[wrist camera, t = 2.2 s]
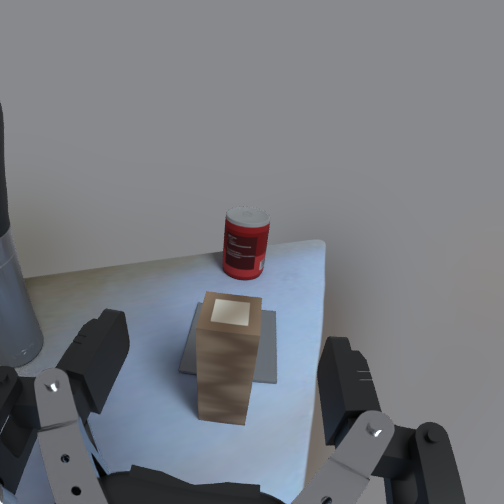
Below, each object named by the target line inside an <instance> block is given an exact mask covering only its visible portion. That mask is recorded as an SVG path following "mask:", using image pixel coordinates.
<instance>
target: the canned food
mask: <svg viewBox="0 0 504 504" xmlns="http://www.w3.org/2000/svg"><path fill="white" fill-rule="evenodd" d="M269 225H270V216H269V214H267V213H266V212H265V211H262V210H260V209H257V208H252V207H235V208H232V209H229V210H228V211H227V213H226V220H225V233H224V248H223V269H224V271H225V273H226V274H227V275H229V276H230V277H232V278H235V279H239V280H251V279H255V278H257V277H258V276H260V274H261V273H262V271H263V268H264V261H265V254H266V247H267V240H268V233H269Z"/></svg>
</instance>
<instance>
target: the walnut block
mask: <svg viewBox="0 0 504 504" xmlns="http://www.w3.org/2000/svg"><path fill="white" fill-rule="evenodd" d="M261 304H262V298H258V297H249V296H240V295H232V294H223V293H215V292H207V291H206V294H205V298H204V301H203V305H202V308H201V312H200V315H199V319H198V323H197V326H196V359H197V391H198V414H199V420H204V421H211V422H219V423H227V424H236V425H245V421H246V415H247V410H248V404H249V398H250V393H251V387H252V381H253V376H254V370H255V364H256V358H257V352H258V346H259V341H260V331H261Z"/></svg>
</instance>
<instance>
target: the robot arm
mask: <svg viewBox="0 0 504 504" xmlns="http://www.w3.org/2000/svg"><path fill="white" fill-rule="evenodd" d="M42 345H43V335H42V332H41V329H40V327H39V324H38V321H37V318H36V316H35V312H34V310H33V307H32V304H31V301H30V298H29V295H28V291H27V288H26V285H25V282H24V278H23V275H22V271H21V268H20V264H19V260H18V256H17V252H16V248H15V245H14V240H13V235H12V231H11V226H10V221H9V215H8V201H7V188H6V178H5V166H4V122H3V112H2V106H1V103H0V365H1V366H0V432H1V429H2V427H3V425H4V423H5V421H6V419H7V417H8V415H9V418H8V420H7V422H6V424H5V426H4V428H3V430H2V432H1V434H0V504H18V501H17V499H16V497H15V493H16V490H17V487H18V485H19V482H20V479H21V476H22V474H23V471H24V468H25V466H26V463H27V461H28V458H29V456H30V453H31V451H32V448H33V446H34V443H35V441H36V439H37V436H38V440H39V445H40V449H41V453H42V457H43V461H44V465H45V469H46V473H47V476H48V480H49V483H50V486H51V490H52V493H53V496H54V499H55V502H56V503H55V504H285V503H284V502H282V501H281V500H279V499H277V498H275V497H273V496H271V495H269V494H266V493H263V492H260V485H255V484H241V483H231V482H225V483H214V484H201V485H193V484H189V483H187V482H184V481H182V480H180V479H177V478H175V477H173V476H170V475H168V474H166V473H164V472H161V471H156V470H152V469H148V468H144V467H140V466H136V465H132V466H131V470H130V471H124V472H116V473H111V474H110V472H109V470H108V468H107V466H106V464H105V462H104V460H103V458H102V456H101V453H100V451H99V448H98V446H97V443H96V440H95V437H94V435H93V432H92V429H91V426H90V423H89V420H88V416H89V414H90V412H94V413H97V414H100V413H101V411H102V409H103V406H104V404H105V402H106V400H107V397H108V395H109V393H110V391H111V389H112V386H113V384H114V382H115V380H116V378H117V376H118V373H119V371H120V369H121V367H122V365H123V363H124V361H125V359H126V357H127V354H128V351H129V346H130V340H129V335H128V329H127V324H126V318H125V314H124V312H122V311H117V310H112V309H105V310H104V311H103V312H102V314H101V315H100V317H99V318H98V319H92V320H90V321H89V322H87V323H86V324H85V325H83V327H82V328H81V330H80V331H79V333H78V335H77V336H76V337H75V338H74V340H73V343H71V344H70V346H69V347H68V349H67V350H66V352H65V354H64V355H63V357H62V358H61V360H60V361H59V363H58V364H57V366H56V367H55V368H50V369H46V370H44V371H42V372H41V373H40V374H39V375H38V376H37V377H19V376H18V374H17V373H16V371H15V369H14V368H12V367H19V366H22V365H24V364H26V363H28V362H30V361H31V360H32V359H34V358H35V357H36V356H37V355H38V353H39V352H40V350H41V348H42ZM317 378H318V386H319V393H320V401H321V409H322V417H323V425H324V433H325V442H326V445H335V451H334V453H333V454H332V456H331V457H330V458H329V459H328V460H327V461H326V462H325V463H324V465H323V466H322V467H321V469H320V470H319V471H318V472H317V474H316V475H315V476H314V477H313V478H312V480H311V481H310V482H309V483H308V485H307V486H306V487H305V488H304V489H303V490H302V491H301V493H300V494H299V495H298V496H297V497H296V498H295V499H294V500H293V502H292V503H291V504H355V503H356V502H357V500H358V499H359V497H360V496H361V494H362V493H363V491H364V490H365V488H366V486H367V485H368V483H369V481H370V479H369V477H370V475H372V476H378V477H383V478H384V485H385V493H386V502H387V504H466V503H465V498H464V493H463V489H462V485H461V481H460V477H459V473H458V469H457V465H456V462H455V458H454V454H453V451H452V447H451V444H450V440H449V438H448V434H447V432H446V431H445V429H444V428H443V427H442V426H440V425H438V424H437V423H433V422H426V423H424V424H422V425H420V426H419V427H418V428H417V430H416V429H411V428H405V427H400V426H397V425H394V424H393V422H392V420H391V419H390V417H389V416H387V415H386V414H384V413H382V411H381V409H380V405H379V401H378V398H377V394H376V391H375V387H374V384H373V381H372V377H371V374H370V372H369V367H368V364H367V360H366V359H365V358H364V357H363V355H362V354H361V353H360V352H359V351H352V350H351V347H350V343H349V340H348V338H347V337H331V336H330V337H328V338H327V340H326V343H325V346H324V349H323V352H322V355H321V358H320V361H319V365H318V371H317Z"/></svg>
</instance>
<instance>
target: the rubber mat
mask: <svg viewBox="0 0 504 504" xmlns="http://www.w3.org/2000/svg"><path fill="white" fill-rule="evenodd" d="M202 305H203V303H198V306H197V310H196V313H195V316H194V320H193V323H192V326H191V330H190V333H189V336H188V340H187V343H186V347H185V350H184V353H183V357H182V360H181V364H180V367H179V372H181V373H188V374H194V375H197V359H196V326H197V323H198V319H199V315H200V312H201V308H202ZM252 382H261V383H273V384H276V383H277V348H276V311H267V310H261V331H260V341H259V346H258V352H257V358H256V364H255V370H254V376H253V381H252Z"/></svg>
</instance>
